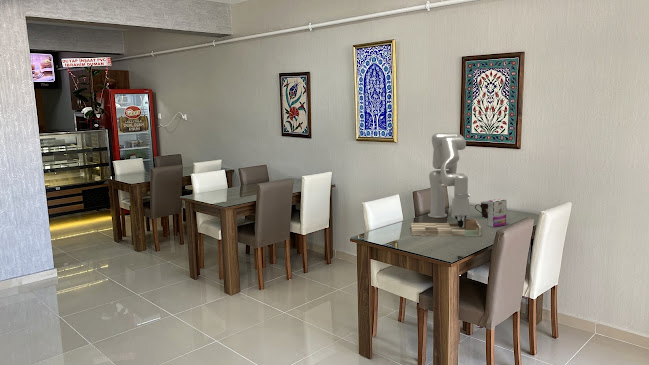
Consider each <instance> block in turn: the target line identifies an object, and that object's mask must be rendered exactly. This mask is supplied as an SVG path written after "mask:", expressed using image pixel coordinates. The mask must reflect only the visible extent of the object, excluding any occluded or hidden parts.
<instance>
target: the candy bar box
mask: <svg viewBox="0 0 649 365" xmlns="http://www.w3.org/2000/svg"><path fill="white" fill-rule="evenodd" d="M487 201H488V218H487V226H488V227H491V228H497V227H503V226H507V199H506V198H497V199H491V200H487Z"/></svg>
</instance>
